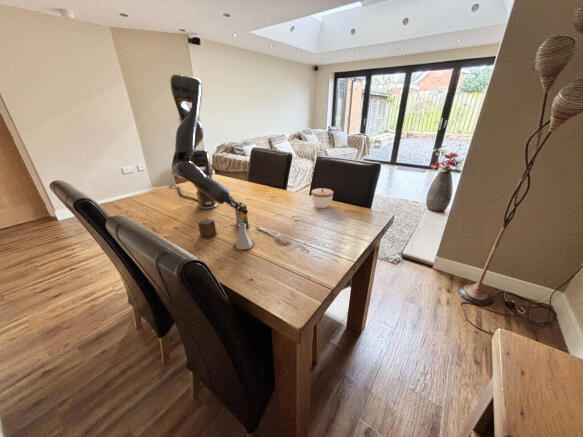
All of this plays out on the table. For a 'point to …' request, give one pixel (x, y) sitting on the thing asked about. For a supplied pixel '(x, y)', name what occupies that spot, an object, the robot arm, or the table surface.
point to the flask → (243, 238)
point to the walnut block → (207, 228)
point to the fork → (274, 234)
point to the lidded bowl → (322, 197)
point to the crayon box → (241, 216)
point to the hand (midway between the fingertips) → (243, 210)
